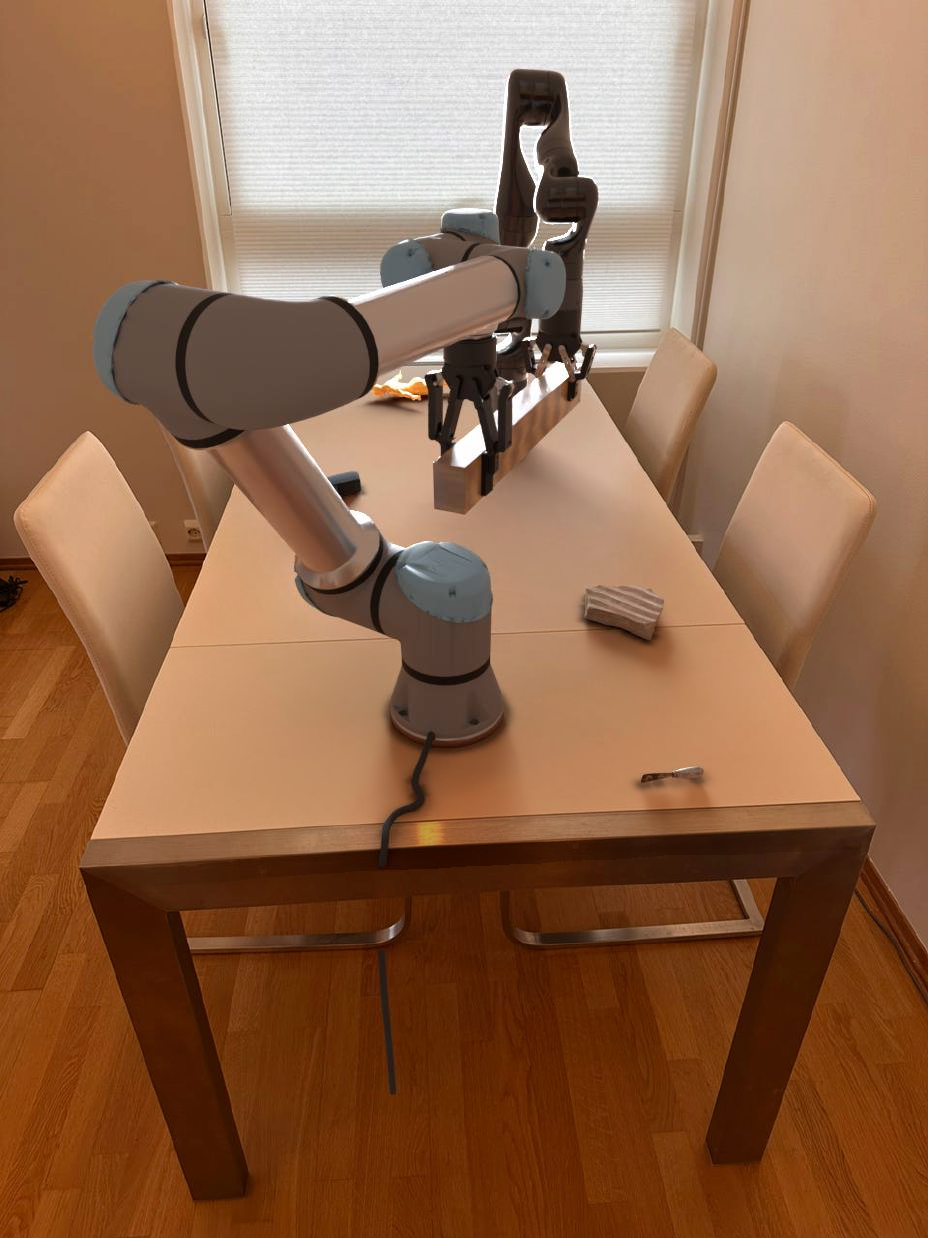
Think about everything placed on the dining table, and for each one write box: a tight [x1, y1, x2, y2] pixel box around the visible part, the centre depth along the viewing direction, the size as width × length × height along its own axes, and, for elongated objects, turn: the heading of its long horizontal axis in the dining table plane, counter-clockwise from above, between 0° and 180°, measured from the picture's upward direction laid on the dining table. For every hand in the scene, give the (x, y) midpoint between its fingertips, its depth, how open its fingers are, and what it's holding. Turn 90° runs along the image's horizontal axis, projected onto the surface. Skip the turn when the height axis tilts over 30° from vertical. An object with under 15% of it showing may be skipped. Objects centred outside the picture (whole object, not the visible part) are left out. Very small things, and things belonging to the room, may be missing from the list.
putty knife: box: [640, 765, 705, 784], centre depth 109 cm, size 1×8×2 cm, turn 103°
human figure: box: [371, 370, 449, 401], centre depth 236 cm, size 20×20×4 cm
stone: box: [583, 584, 665, 641], centre depth 141 cm, size 13×12×3 cm
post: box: [432, 362, 583, 516], centre depth 149 cm, size 55×5×7 cm, turn 156°
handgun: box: [326, 470, 362, 497], centre depth 177 cm, size 3×18×12 cm
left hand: (469, 488), depth 135 cm, fingers closed on post, 5 cm apart
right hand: (555, 398), depth 165 cm, fingers closed on post, 5 cm apart
